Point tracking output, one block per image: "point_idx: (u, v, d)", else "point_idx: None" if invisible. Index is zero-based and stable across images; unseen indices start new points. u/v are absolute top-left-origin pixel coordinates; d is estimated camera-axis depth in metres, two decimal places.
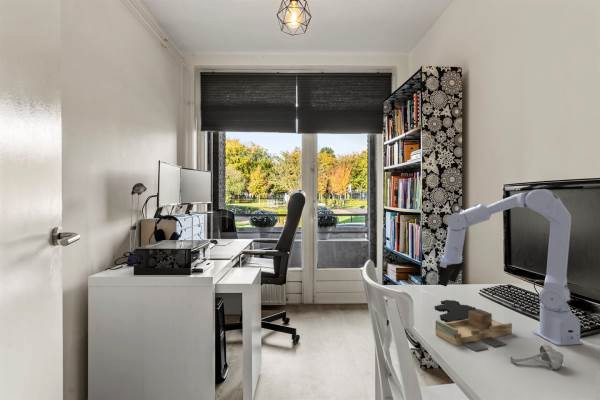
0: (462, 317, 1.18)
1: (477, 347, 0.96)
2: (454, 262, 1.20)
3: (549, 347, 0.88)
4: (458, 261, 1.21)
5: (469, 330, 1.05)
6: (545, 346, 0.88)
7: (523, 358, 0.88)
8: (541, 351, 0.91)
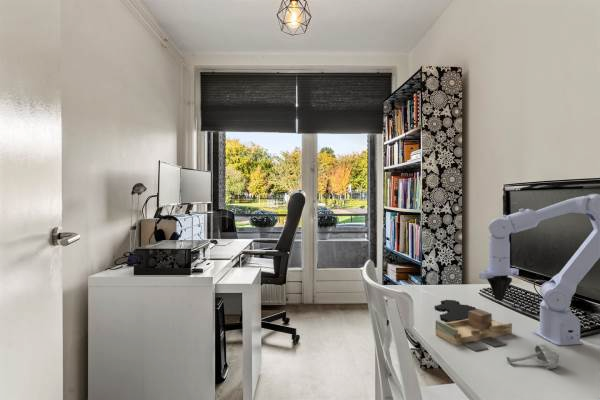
0: (462, 317, 1.18)
1: (477, 347, 0.96)
2: (498, 274, 1.07)
3: (545, 347, 0.88)
4: (504, 273, 1.07)
5: (469, 330, 1.05)
6: (541, 346, 0.88)
7: (519, 358, 0.88)
8: (536, 351, 0.91)
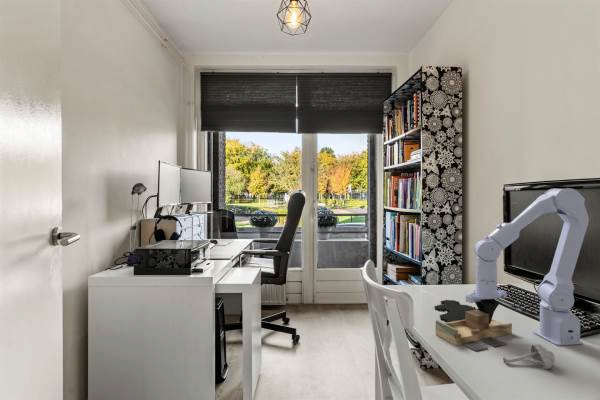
0: (462, 317, 1.18)
1: (477, 347, 0.96)
2: (484, 297, 1.05)
3: (540, 346, 0.88)
4: (491, 296, 1.05)
5: (469, 330, 1.05)
6: (536, 346, 0.88)
7: (516, 358, 0.88)
8: (532, 350, 0.91)
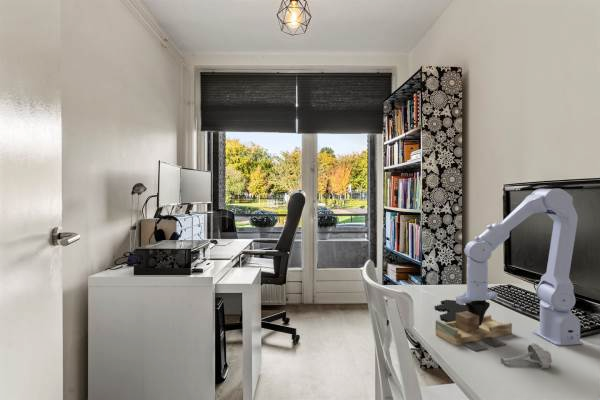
0: None
1: (477, 347, 0.96)
2: (475, 299, 1.04)
3: (537, 346, 0.88)
4: (481, 298, 1.04)
5: None
6: (534, 345, 0.88)
7: (513, 358, 0.88)
8: (529, 350, 0.91)
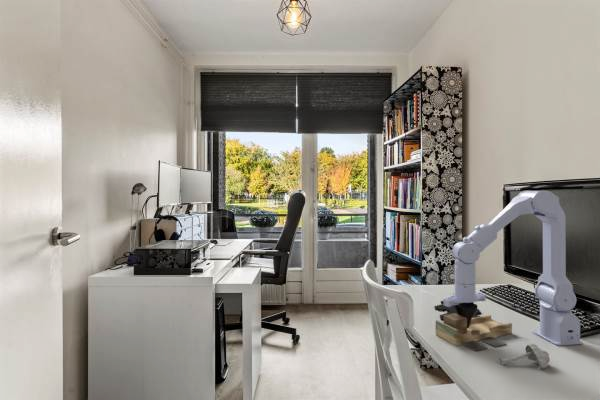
0: None
1: (477, 347, 0.96)
2: (462, 301, 1.02)
3: (535, 346, 0.88)
4: (469, 300, 1.02)
5: (469, 330, 1.05)
6: (532, 346, 0.88)
7: (511, 359, 0.88)
8: (527, 350, 0.91)
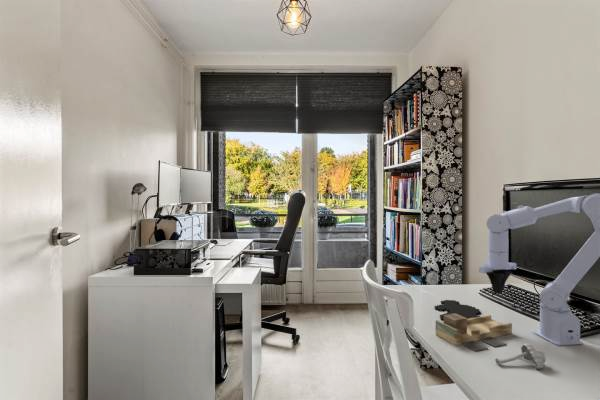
0: None
1: (477, 347, 0.96)
2: (497, 267, 1.10)
3: (531, 346, 0.88)
4: (503, 267, 1.10)
5: (469, 330, 1.05)
6: (528, 346, 0.88)
7: (508, 359, 0.88)
8: (523, 350, 0.91)
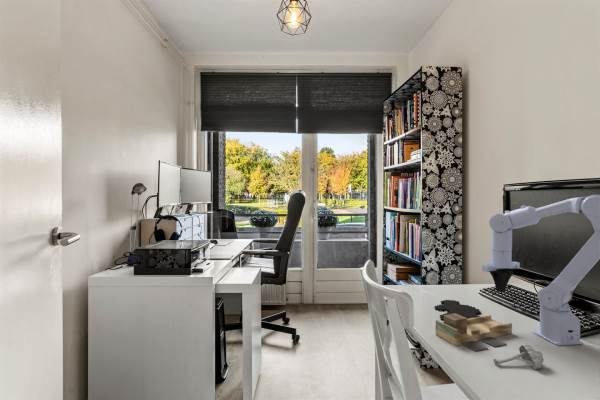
0: None
1: (477, 347, 0.96)
2: (500, 266, 1.11)
3: (529, 346, 0.88)
4: (506, 266, 1.11)
5: (469, 330, 1.05)
6: (526, 346, 0.88)
7: (506, 359, 0.88)
8: (520, 351, 0.91)
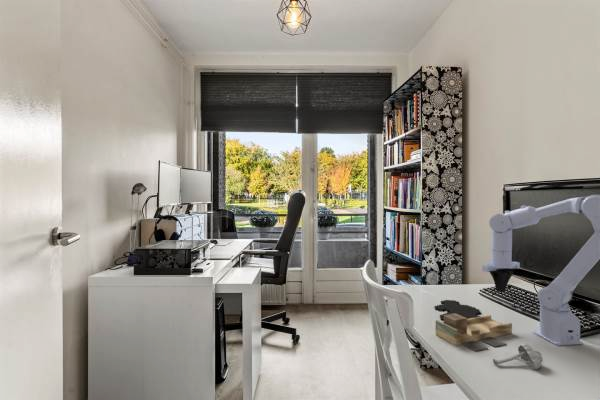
0: None
1: (477, 347, 0.96)
2: (500, 266, 1.11)
3: (528, 346, 0.88)
4: (506, 266, 1.11)
5: (469, 330, 1.05)
6: (525, 346, 0.88)
7: (505, 359, 0.87)
8: (519, 351, 0.91)
